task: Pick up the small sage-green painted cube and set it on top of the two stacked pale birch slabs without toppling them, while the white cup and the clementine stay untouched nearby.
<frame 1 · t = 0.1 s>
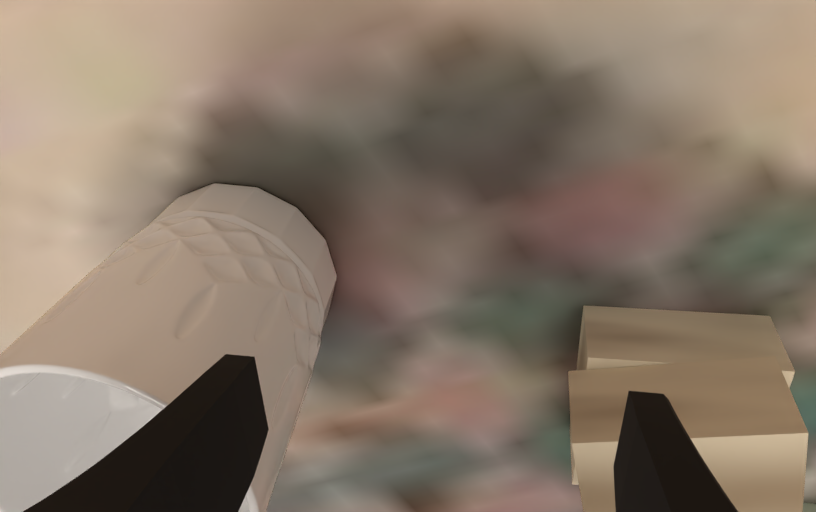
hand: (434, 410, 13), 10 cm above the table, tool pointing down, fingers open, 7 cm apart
slab lower: (660, 371, 25), on the table
slab upper: (672, 432, 22), point 3 cm above the table
white cup: (249, 260, 25), on the table
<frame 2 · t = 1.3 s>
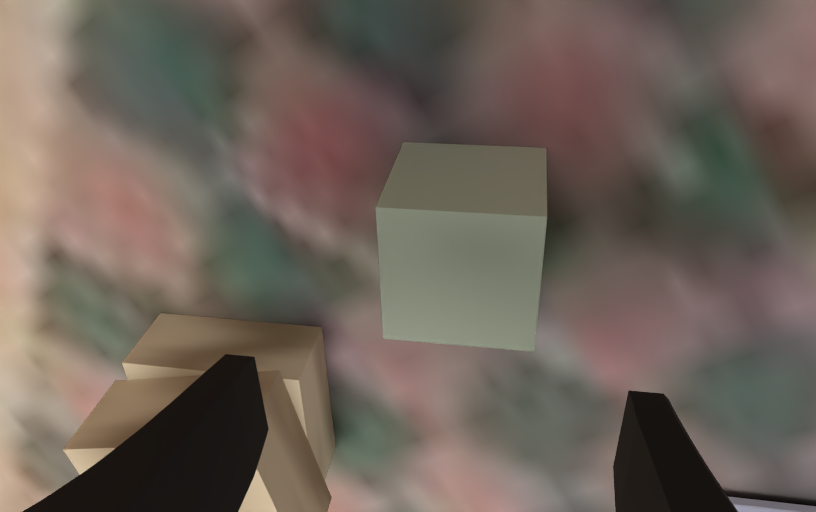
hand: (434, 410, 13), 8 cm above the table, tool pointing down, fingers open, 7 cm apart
cube: (472, 206, 20), on the table
slab lower: (254, 377, 26), on the table, touching slab upper
slab upper: (226, 440, 24), point 3 cm above the table, touching slab lower
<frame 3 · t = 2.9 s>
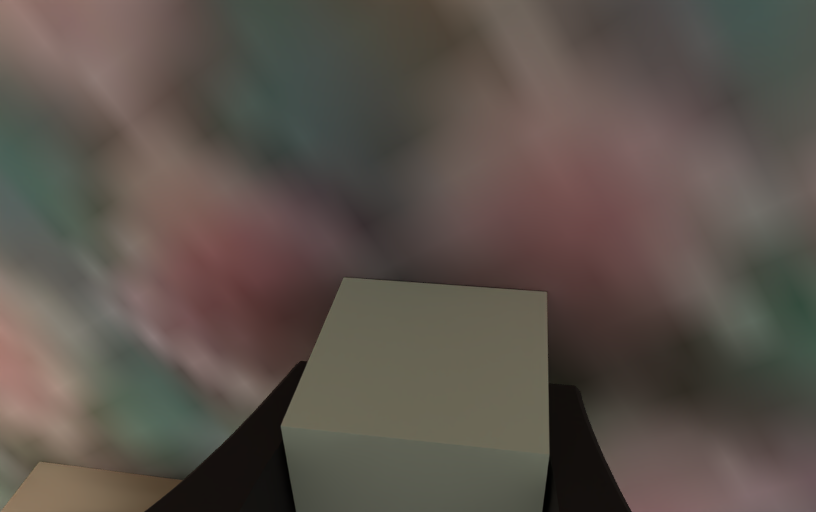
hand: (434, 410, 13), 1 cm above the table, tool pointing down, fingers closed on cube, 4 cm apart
cube: (442, 361, 14), on the table, touching gripper
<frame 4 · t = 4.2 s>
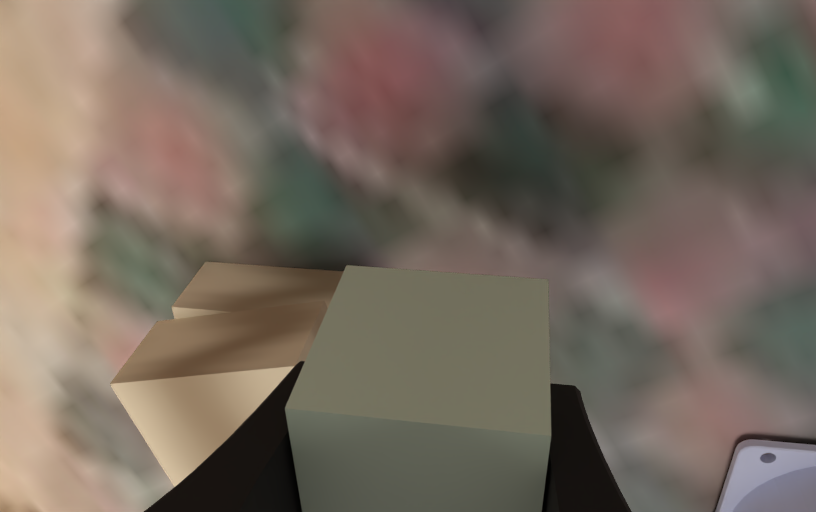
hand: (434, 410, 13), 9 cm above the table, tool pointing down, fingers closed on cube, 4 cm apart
cube: (444, 350, 15), point 8 cm above the table, touching gripper
slab lower: (298, 329, 26), on the table, touching slab upper
slab upper: (270, 381, 23), point 3 cm above the table, touching slab lower
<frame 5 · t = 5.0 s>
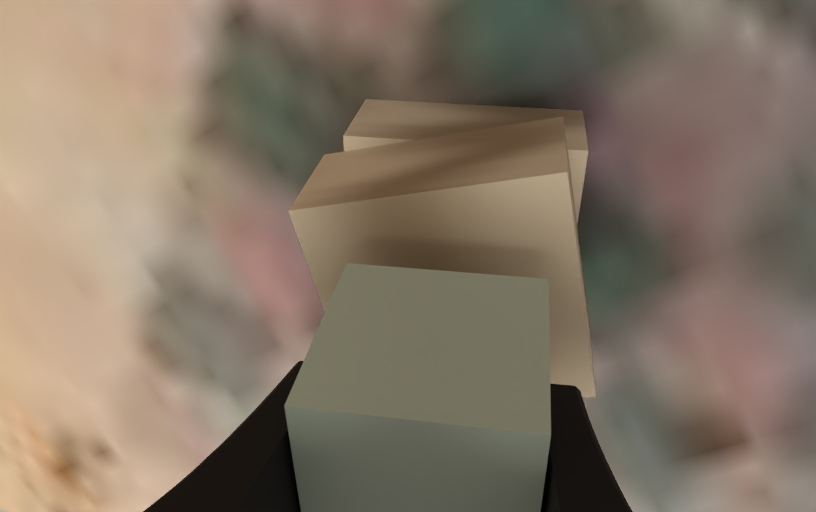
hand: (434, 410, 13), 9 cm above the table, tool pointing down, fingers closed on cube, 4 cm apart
cube: (444, 348, 14), point 7 cm above the table, touching gripper
slab lower: (468, 195, 21), on the table
slab upper: (461, 240, 18), point 3 cm above the table
when the fingers open (8 cm above the table, at t = 5.9 s): cube drops 1 cm, resting on slab upper.
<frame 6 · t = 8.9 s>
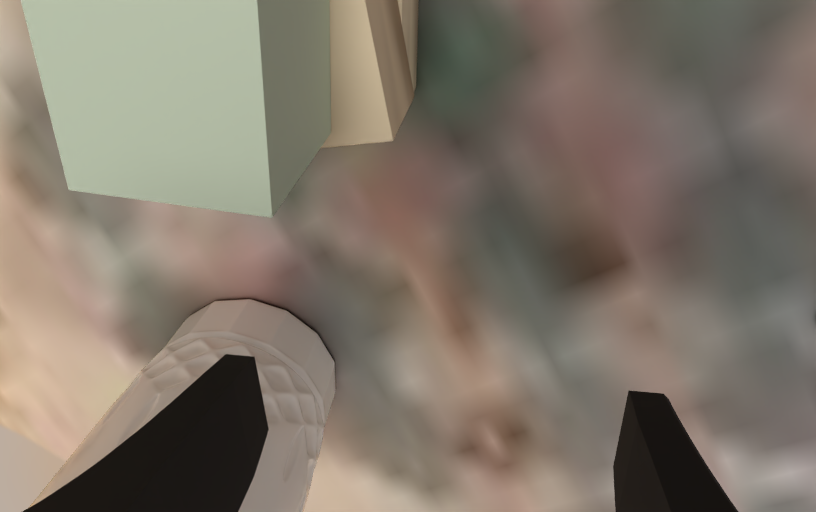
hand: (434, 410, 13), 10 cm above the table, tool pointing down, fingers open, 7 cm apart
cube: (240, 36, 15), point 6 cm above the table, touching slab upper
white cup: (260, 359, 28), on the table
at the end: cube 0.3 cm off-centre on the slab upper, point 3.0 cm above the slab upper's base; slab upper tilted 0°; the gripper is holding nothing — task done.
